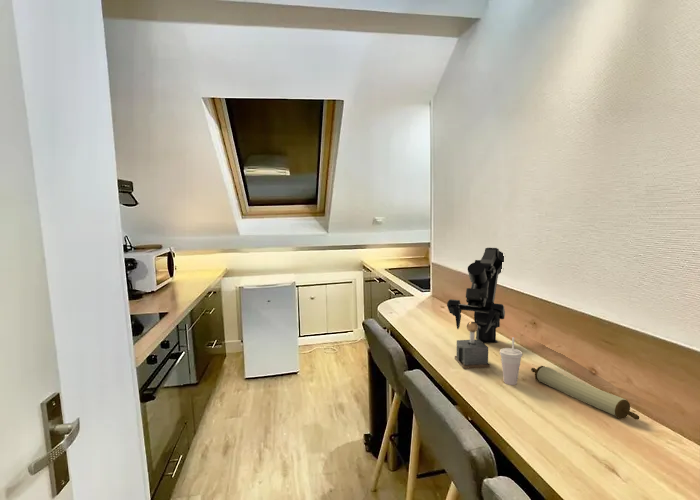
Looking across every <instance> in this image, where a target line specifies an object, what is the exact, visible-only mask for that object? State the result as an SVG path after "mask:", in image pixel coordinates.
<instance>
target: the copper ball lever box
mask: <svg viewBox="0 0 700 500" xmlns="http://www.w3.org/2000/svg"><path fill="white" fill-rule="evenodd" d="M454 360H455V361H456V363H457V364H459V366H460V367H461V368H462V369H463V370H464V369H465V370H467V369H468V370H469V369H470V370H471V369H485V368H486V369H487V368H488V369H489V368H491V364H490V363H489V346H488V345H486V343H483V342H482V341H480V340H479V339H478V340H477V339H474V345H470V339H456V355H454Z"/></svg>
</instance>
